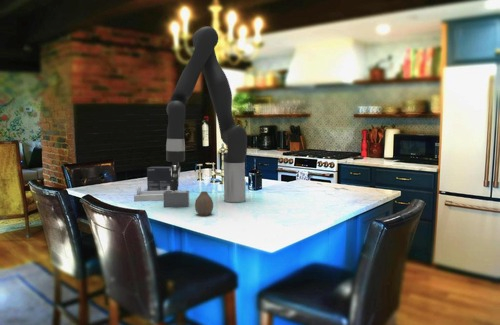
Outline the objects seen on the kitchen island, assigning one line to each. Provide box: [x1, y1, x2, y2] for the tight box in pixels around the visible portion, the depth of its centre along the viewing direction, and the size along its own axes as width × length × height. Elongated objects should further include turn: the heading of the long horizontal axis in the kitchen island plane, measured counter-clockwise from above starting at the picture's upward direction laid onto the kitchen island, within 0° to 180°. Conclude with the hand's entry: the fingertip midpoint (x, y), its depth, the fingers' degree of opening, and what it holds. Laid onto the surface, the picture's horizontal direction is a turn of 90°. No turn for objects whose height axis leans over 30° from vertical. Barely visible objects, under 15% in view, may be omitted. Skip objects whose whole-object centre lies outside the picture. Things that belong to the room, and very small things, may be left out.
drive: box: [163, 190, 190, 208], centre depth 168 cm, size 10×6×6 cm, turn 95°
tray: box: [133, 186, 172, 202], centre depth 183 cm, size 16×11×5 cm
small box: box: [146, 166, 175, 191], centre depth 202 cm, size 13×7×12 cm, turn 84°
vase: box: [194, 191, 214, 217], centre depth 152 cm, size 7×7×9 cm
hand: (175, 188), depth 167 cm, fingers open, 8 cm apart
